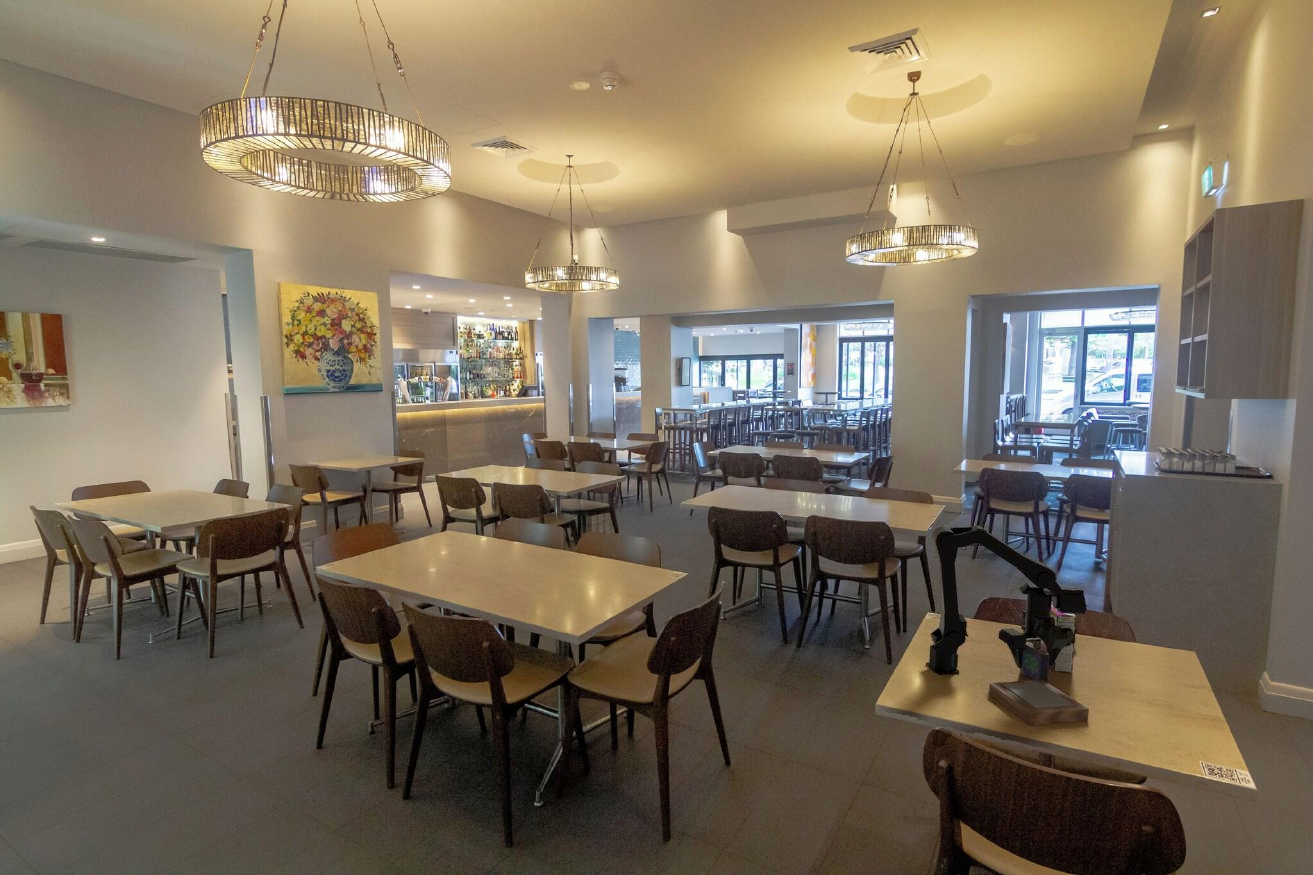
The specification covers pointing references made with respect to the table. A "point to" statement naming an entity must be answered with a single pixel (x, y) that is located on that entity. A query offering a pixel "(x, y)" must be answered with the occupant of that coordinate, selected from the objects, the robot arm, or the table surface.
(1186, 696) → the table surface
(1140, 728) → the table surface
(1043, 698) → the walnut plinth
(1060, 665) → the candy bar box
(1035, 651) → the flask
